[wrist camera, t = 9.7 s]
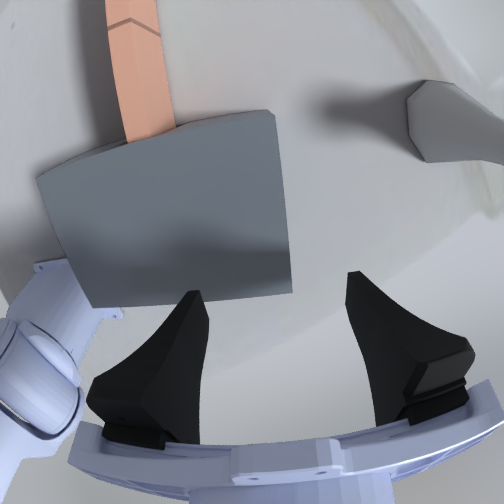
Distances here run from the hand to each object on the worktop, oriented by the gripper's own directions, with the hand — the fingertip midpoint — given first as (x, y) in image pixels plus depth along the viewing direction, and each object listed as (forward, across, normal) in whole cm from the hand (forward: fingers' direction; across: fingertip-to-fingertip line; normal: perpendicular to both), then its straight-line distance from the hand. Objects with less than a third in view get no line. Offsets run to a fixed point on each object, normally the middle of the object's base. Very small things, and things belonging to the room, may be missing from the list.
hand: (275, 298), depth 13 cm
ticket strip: (+9, +6, -14) cm, 18 cm away
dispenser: (+9, +6, -3) cm, 12 cm away
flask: (+10, -15, -7) cm, 19 cm away
